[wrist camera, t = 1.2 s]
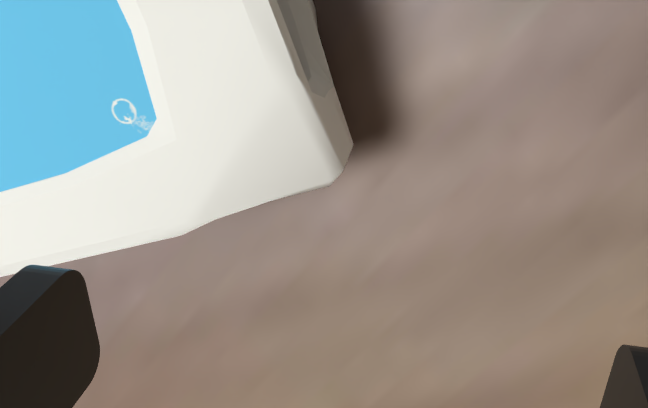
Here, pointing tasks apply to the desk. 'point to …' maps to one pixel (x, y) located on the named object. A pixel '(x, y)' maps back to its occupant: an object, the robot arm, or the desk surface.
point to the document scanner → (155, 119)
